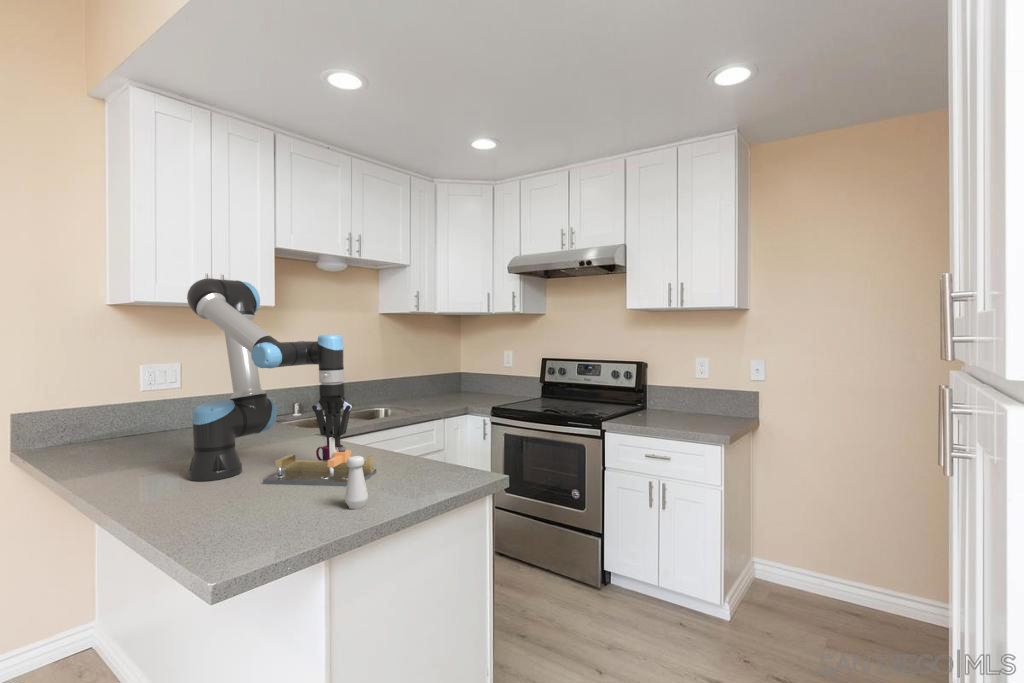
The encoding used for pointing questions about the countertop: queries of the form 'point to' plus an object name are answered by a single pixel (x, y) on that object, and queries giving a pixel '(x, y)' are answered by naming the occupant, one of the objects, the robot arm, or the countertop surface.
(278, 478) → the plate
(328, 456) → the mug
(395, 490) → the countertop surface
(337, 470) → the brass l-shaped beam
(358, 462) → the salt shaker
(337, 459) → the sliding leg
